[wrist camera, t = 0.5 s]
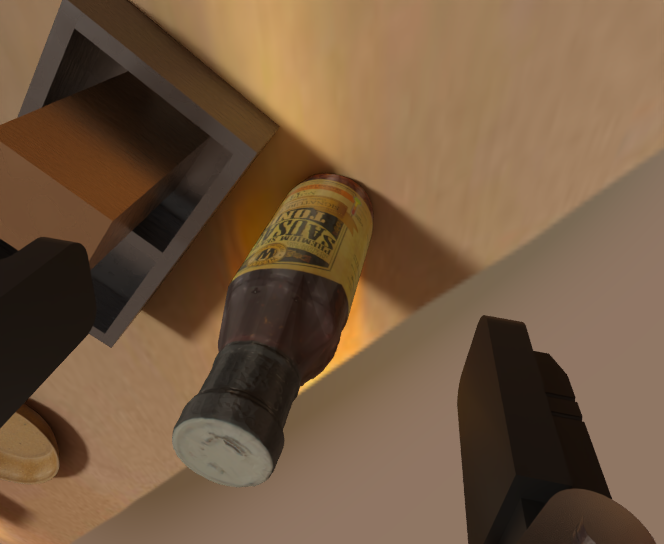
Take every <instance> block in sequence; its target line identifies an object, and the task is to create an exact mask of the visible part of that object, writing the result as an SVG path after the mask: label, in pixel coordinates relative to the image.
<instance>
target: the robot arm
mask: <svg viewBox="0 0 664 544" xmlns="http://www.w3.org/2000/svg"><path fill="white" fill-rule="evenodd" d="M96 309H97V307H96V300H95V294H94V288H93V283H92V277H91V271H90V265H89V259H88V254H87V251H86V249H85V247H84V246H83V245H82V244H80V243H77V242H71V241H66V240H60V239H54V238H49V237H39V238H37V239H35V240H34V241H32V242H31V243H29V244H28V245H26V246H25V247H23V248H22V249H20V250H19V251H18V252H16V253H15V254H13V255H12V256H10V257H7V258H5V259H2V260H0V428H1V427H2V426H3V425H4V424H5V423H6V422H7V421H8V420H9V419H10V418H11V417H12V415H13V414H14V413H15V412H16V411H17V410H18V409H19V408H20V407H21V406H22V405H23V404H24V403H25V401H26V400H27V399H28V398H29V397H30V396H31V395H32V394H33V393H34V392H35V391H36V390H37V389H38V388H39V386H40V385H41V384H42V383H43V382H44V381H45V380H46V379H47V378H48V377H49V376H50V375H51V374H52V373H53V371H54V370H55V369H56V368H57V367H58V366H59V365H60V364H61V363H62V362H63V361H64V360H65V359H66V358H67V356H68V355H69V354H70V353H71V352H72V351H73V350H74V349H75V348H76V347H77V346H78V345H79V344H80V343H81V341H82V340H83V339H84V338H85V337H86V336H87V335H88V334H89V332H90V331H91V329H92V327H93V324H94V321H95V318H96ZM457 406H458V420H459V432H460V443H461V457H462V470H463V482H464V495H465V508H466V520H467V533H468V544H656V542H655V541H654V539H653V537H652V536H651V534H650V533H649V531H648V530H647V529H646V527H645V526H644V525H643V524H642V523H641V522H640V521H639V520H638V519H637V518H636V517H635V516H634V515H633V514H632V513H631V512H629V511H628V510H627V509H626V508H624V507H623V506H622V505H620V504H618V503H617V502H615V501H614V500H612V497H611V495H610V492H609V489H608V486H607V484H606V481H605V478H604V475H603V473H602V470H601V467H600V464H599V462H598V459H597V456H596V453H595V450H594V448H593V445H592V442H591V439H590V436H589V434H588V431H587V428H586V426H585V423H584V422H582V414H581V412H580V409H579V406H578V403H577V402H575V395H574V392H573V389H572V387H571V384H570V381H569V378H568V376H567V374H566V373H565V372H564V371H563V369H562V368H561V367H560V366H559V365H558V364H557V363H556V361H555V360H554V359H553V358H552V357H551V356H550V354H547V353H542V352H536V351H533V349H532V346H531V342H530V339H529V335H528V332H527V329H526V326H525V324H524V323H523V322H519V321H513V320H508V319H502V318H496V317H491V316H485V315H483V316H482V317H481V318H480V320H479V323H478V325H477V328H476V331H475V335H474V338H473V341H472V344H471V347H470V350H469V353H468V356H467V359H466V362H465V365H464V368H463V372H462V375H461V379H460V383H459V389H458V400H457Z"/></svg>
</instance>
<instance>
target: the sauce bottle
mask: <svg viewBox="0 0 664 544" xmlns="http://www.w3.org/2000/svg"><path fill="white" fill-rule="evenodd" d="M372 230H373V208H372V204H371V201H370V199H369V197H368V195H367V194H366V192H365V191H364V189H363V188H362V187H361V186H359V185H358V184H357V183H356V182H354V181H353V180H351V179H349V178H346V177H344V176H341V175H336V174H328V173H323V174H315V175H313V176H311V177H309V178H308V179H306V180H305V181H303V182H301V183H300V184H299V185H298V186H296V187H295V188H293V189H292V190H291V191H290V192H289V193H288V195H287V196H286V198H285V199H284V201H283V202H282V204H281V205H280V207H279V208H278V210H277V211H276V213H275V214H274V216H273V218H272V219H271V221H270V222H269V224H268V225H267V227H266V229H265V230H264V231H263V233H262V234H261V236H260V238H259V239H258V241H257V242H256V244H255V245H254V247H253V248H252V250H251V251H250V253H249V255H248V256H247V258H246V259H245V261H244V263H243V265H242V266H241V268H240V269H239V270H238V272H237V274H236V275H235V277H234V278H233V280H232V282H231V283H230V285H229V287H228V291H227V296H226V302H225V307H224V313H223V319H222V324H221V329H220V335H219V340H218V350H219V353H218V355H217V356H216V358H215V361H214V363H213V367H212V370H211V372H210V374H209V376H208V377H207V379H206V380H205V382H204V384H203V386H202V388H201V390H200V391H199V393H198V394H197V395H196V396H194V398H192V399H191V400H190V402H189V403H187V405H186V406H185V407H184V409H183V411H182V414H181V416H180V418H179V420H178V421H177V423H176V425H175V427H174V430H173V436H172V442H173V448H174V450H175V452H176V454H177V456H178V457H179V458H180V459H181V461H182V462H183V463H184V464H185V465H186V466H187V467H188V468H190V469H191V470H193V471H194V472H196V473H197V474H199V475H201V476H203V477H205V478H206V479H208V480H210V481H213V482H216V483H218V484H222V485H227V486H233V487H248V486H256V485H259V484H261V483H263V482H265V481H266V480H267V479H268V478H269V477H270V476H271V474H272V473H273V471H274V469H275V466H276V464H277V461H278V459H279V457H280V454H281V452H282V449H283V446H284V434H283V428H284V425H285V423H286V419H287V416H288V413H289V410H290V408H291V405H292V402H293V401H294V400H295V398H296V397H297V395H298V391H299V388H300V386H303V385H304V383H306V382H307V381H309V380H310V379H314V378H315V377H316V376H317V375H319V374H320V373H321V372H322V371H323V370H324V369H325V367H326V366H327V365H328V363H329V362H330V361H331V360H332V358H333V357H334V354H335V352H336V350H337V346H338V344H339V341H340V336H341V332H342V330H343V329H344V327H345V325H346V322H347V319H348V316H349V313H350V309H351V306H352V302H353V299H354V295H355V292H356V288H357V284H358V281H359V277H360V274H361V271H362V267H363V264H364V260H365V257H366V253H367V250H368V247H369V243H370V240H371V236H372Z"/></svg>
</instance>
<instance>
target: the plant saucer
mask: <svg viewBox="0 0 664 544" xmlns="http://www.w3.org/2000/svg"><path fill="white" fill-rule="evenodd" d="M59 460H60V459H59V450H58V445H57V442H56V439H55V436H54V434H53V431H52V429H51V428H50V426H49V425H48V424H47V422H46V421H45V420H44V419H43V418H42V417H41V416H40V415H39V414H38V413H36V412H35V411H34V410H33V409H31V408H30V407H28V406H27V405H25V404H23V405H22V406H21V407H20V408H19V409H18V410H17V411H16V412H15V413H14V414H13V415H12V417H11V418H10V419H9V420H8V421H7V422H6V423H5V424H4V425H3V426H2V427H1V428H0V479H2V480H5V481H9V482H14V483H19V484H40V483H44V482H47V481H49V480H51V479H52V478H53V477H55V475H56V474H57V472H58V470H59Z"/></svg>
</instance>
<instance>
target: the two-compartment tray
mask: <svg viewBox="0 0 664 544" xmlns="http://www.w3.org/2000/svg"><path fill="white" fill-rule="evenodd" d="M278 128H279V126H278V125H277V124H276V123H274V122H273V121H272V120H271V119H270V118H268V117H267V116H266V115H265V114H264V113H262V112H261V111H260V110H259V109H258V108H256V107H255V106H254V105H253V104H252V103H250V102H249V101H248V100H247V99H246V98H244V97H243V96H242V95H241V94H240V93H238V92H237V91H236V90H235V89H233V88H232V87H231V86H230V85H229V84H227V83H226V82H225V81H224V80H223V79H221V78H220V77H219V76H218V75H217V74H215V73H214V72H213V71H212V70H211V69H209V68H208V67H207V66H206V65H205V64H203V63H202V62H201V61H200V60H199V59H197V58H196V57H195V56H194V55H193V54H191V53H190V52H189V51H188V50H187V49H185V48H184V47H183V46H182V45H181V44H179V43H178V42H177V41H176V40H175V39H173V38H172V37H171V36H170V35H169V34H167V33H166V32H165V31H164V30H163V29H161V28H160V27H159V26H158V25H157V24H155V23H154V22H153V21H152V20H151V19H149V18H148V17H147V16H146V15H145V14H143V13H142V12H141V11H140V10H139V9H137V8H136V7H135V6H134V5H133V4H131V3H130V2H129V1H128V0H62V2H61V5H60V8H59V10H58V13H57V15H56V18H55V21H54V23H53V26H52V29H51V31H50V34H49V36H48V39H47V42H46V44H45V47H44V49H43V52H42V55H41V57H40V60H39V63H38V65H37V68H36V70H35V73H34V76H33V78H32V81H31V84H30V86H29V89H28V91H27V94H26V97H25V99H24V102H23V104H22V107H21V110H20V112H19V115H18V118H16V119H14V120H11V121H9V122H6V123H4V124H2V125H0V260H2V259H5V258H7V257H10V256H12V255H13V254H15V253H16V252H18V251H19V250H20V249H22V248H23V247H25V246H26V245H28V244H29V243H31V242H32V241H34V240H35V239H37V238H39V237H49V238H54V239H60V240H66V241H71V242H77V243H80V244H82V245H83V246H84V247H85V249H86V251H87V254H88V259H89V265H90V271H91V277H92V283H93V288H94V294H95V300H96V307H97V309H96V318H95V321H94V324H93V327H92V329H91V331H90V332H89V334H90V335H92V336H93V337H95V338H97V339H98V340H100V341H101V342H103V343H104V344H106V345H107V346H109V347H111V348H112V347H113V345H114V344H115V343H116V341H117V340H118V339H119V338H120V336H121V335H122V334H123V333H124V331H125V330H126V329H127V328H128V326H129V325H130V324H131V323H132V321H133V320H134V319H135V318H136V316H137V315H138V314H139V313H140V311H141V310H142V309H143V307H144V306H145V305H146V303H147V302H148V301H149V299H150V298H151V297H152V295H153V294H154V293H155V291H156V290H157V289H158V287H159V286H160V285H161V284H162V282H163V281H164V280H165V278H166V277H167V276H168V274H169V273H170V272H171V270H172V269H173V268H174V266H175V265H176V264H177V262H178V261H179V260H180V258H181V257H182V256H183V254H184V253H185V252H186V250H187V249H188V248H189V246H190V245H191V244H192V242H193V241H194V240H195V238H196V237H197V236H198V234H199V233H200V232H201V230H202V229H203V228H204V226H205V225H206V224H207V222H208V221H209V220H210V218H211V217H212V216H213V214H214V213H215V212H216V210H217V209H218V208H219V206H220V205H221V204H222V202H223V201H224V200H225V198H226V197H227V196H228V194H229V193H230V192H231V191H232V189H233V188H234V187H235V185H236V184H237V183H238V181H239V180H240V179H241V177H242V176H243V175H244V173H245V172H246V171H247V169H248V168H249V167H250V165H251V164H252V163H253V161H254V160H255V159H256V157H257V156H258V155H259V153H260V152H261V151H262V149H263V148H264V147H265V145H266V144H267V143H268V141H269V140H270V139H271V137H272V136H273V135H274V133H275V132H276V131H277V129H278Z"/></svg>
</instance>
